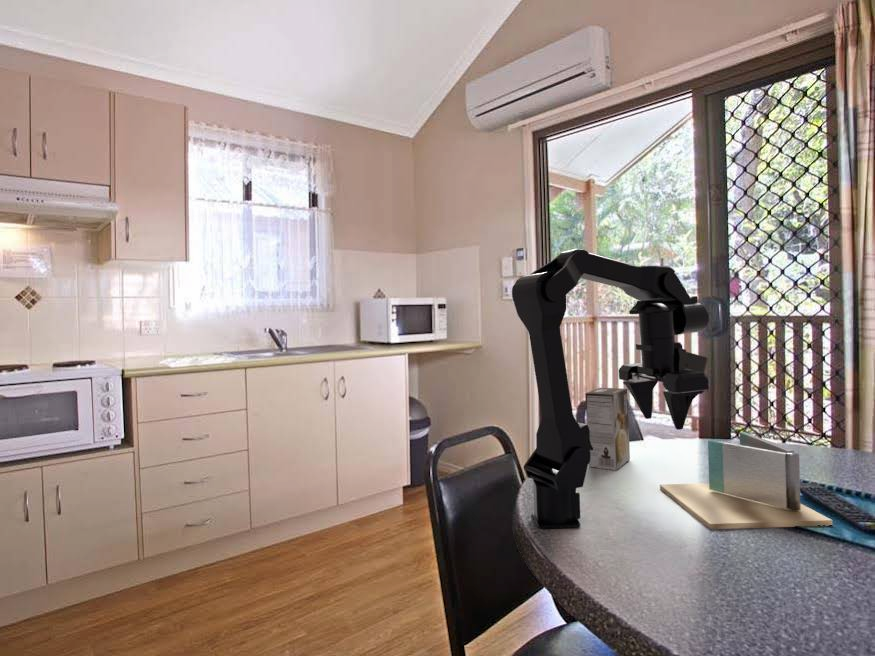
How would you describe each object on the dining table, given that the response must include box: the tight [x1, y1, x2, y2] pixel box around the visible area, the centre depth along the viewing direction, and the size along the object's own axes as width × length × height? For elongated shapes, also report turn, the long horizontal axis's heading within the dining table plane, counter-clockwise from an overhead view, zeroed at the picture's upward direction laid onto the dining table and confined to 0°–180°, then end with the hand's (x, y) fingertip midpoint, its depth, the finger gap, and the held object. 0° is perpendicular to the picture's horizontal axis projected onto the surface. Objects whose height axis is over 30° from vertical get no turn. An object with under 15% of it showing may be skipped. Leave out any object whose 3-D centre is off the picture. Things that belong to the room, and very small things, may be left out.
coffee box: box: [585, 387, 631, 471], centre depth 111 cm, size 9×6×16 cm
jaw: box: [707, 439, 802, 510], centre depth 84 cm, size 2×13×9 cm, turn 34°
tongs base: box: [659, 431, 834, 530], centre depth 85 cm, size 18×19×10 cm
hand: (663, 423), depth 92 cm, fingers open, 9 cm apart
